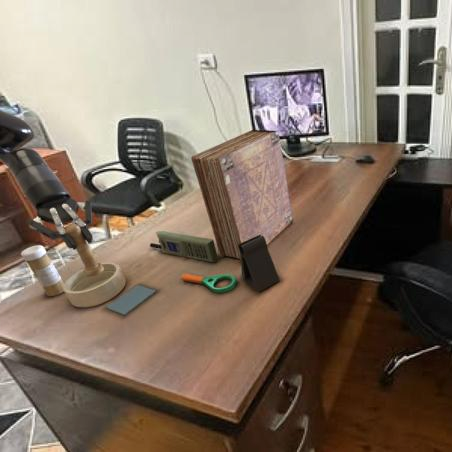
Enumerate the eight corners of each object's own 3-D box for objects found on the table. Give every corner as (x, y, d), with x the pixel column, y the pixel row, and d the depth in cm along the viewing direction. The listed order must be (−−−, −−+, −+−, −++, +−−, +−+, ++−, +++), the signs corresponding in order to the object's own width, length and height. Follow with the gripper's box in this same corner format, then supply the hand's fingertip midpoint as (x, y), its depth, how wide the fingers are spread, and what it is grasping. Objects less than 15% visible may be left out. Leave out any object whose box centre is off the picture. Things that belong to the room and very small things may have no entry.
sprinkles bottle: (49, 289, 94) (23, 248, 88) (68, 283, 96) (44, 242, 89) (45, 299, 91) (17, 256, 84) (65, 293, 92) (40, 250, 86)
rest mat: (125, 315, 82) (124, 314, 82) (106, 308, 85) (105, 307, 85) (156, 291, 89) (156, 290, 89) (138, 285, 92) (137, 284, 92)
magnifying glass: (241, 279, 90) (239, 274, 89) (228, 294, 85) (226, 289, 85) (192, 273, 95) (190, 268, 94) (177, 287, 90) (175, 282, 89)
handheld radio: (212, 264, 98) (148, 251, 107) (220, 258, 100) (156, 246, 110) (207, 243, 95) (140, 232, 104) (215, 237, 97) (149, 227, 107)
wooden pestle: (92, 278, 87) (66, 229, 80) (82, 274, 89) (57, 227, 82) (107, 269, 90) (84, 221, 83) (97, 266, 92) (74, 219, 85)
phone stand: (280, 281, 88) (271, 241, 82) (259, 293, 85) (248, 252, 79) (262, 267, 94) (253, 228, 88) (242, 277, 91) (231, 238, 85)
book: (246, 263, 96) (218, 159, 82) (220, 257, 100) (189, 157, 85) (293, 220, 116) (278, 130, 101) (270, 216, 120) (252, 129, 105)
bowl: (91, 314, 84) (82, 298, 81) (61, 301, 89) (52, 286, 87) (136, 282, 93) (129, 267, 91) (107, 273, 99) (100, 258, 96)
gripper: (4, 190, 78) (47, 252, 77) (74, 170, 87) (113, 225, 86) (11, 206, 83) (51, 264, 82) (76, 186, 92) (113, 238, 91)
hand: (82, 244), depth 84 cm, fingers closed on wooden pestle, 2 cm apart
